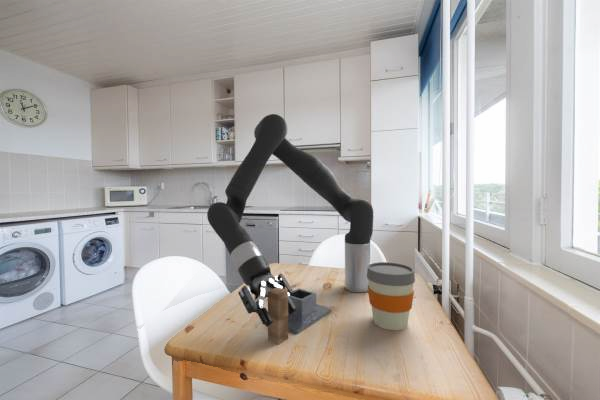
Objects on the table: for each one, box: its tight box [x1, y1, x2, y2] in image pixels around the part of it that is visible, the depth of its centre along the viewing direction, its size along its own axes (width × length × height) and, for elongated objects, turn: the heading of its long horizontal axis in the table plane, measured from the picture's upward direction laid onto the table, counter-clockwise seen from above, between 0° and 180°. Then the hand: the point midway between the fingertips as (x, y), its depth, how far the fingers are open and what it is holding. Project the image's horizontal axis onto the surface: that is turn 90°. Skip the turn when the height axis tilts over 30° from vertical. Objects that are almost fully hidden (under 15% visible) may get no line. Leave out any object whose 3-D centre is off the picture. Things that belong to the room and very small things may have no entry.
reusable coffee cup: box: [367, 261, 416, 331], centre depth 73 cm, size 12×13×15 cm
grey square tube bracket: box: [288, 288, 333, 335], centre depth 77 cm, size 16×11×6 cm
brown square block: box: [267, 287, 289, 345], centre depth 65 cm, size 4×4×12 cm
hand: (282, 318), depth 65 cm, fingers open, 7 cm apart
